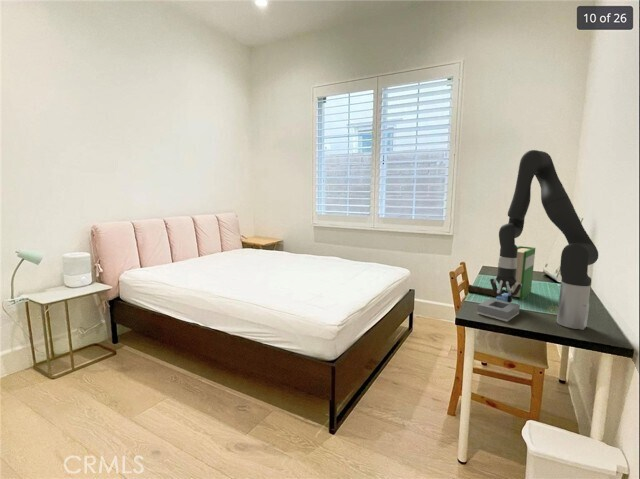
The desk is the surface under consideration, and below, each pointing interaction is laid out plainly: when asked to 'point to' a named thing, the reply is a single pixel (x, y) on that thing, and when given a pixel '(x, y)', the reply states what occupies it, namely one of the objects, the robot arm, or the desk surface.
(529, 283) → the hardback book
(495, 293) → the hand tool
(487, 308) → the plate
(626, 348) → the desk surface
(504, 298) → the block
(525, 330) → the desk surface
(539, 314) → the desk surface
